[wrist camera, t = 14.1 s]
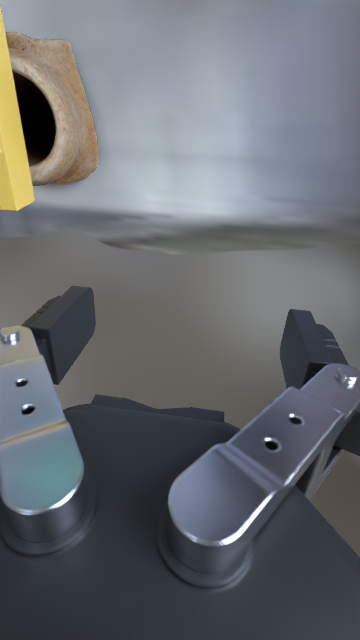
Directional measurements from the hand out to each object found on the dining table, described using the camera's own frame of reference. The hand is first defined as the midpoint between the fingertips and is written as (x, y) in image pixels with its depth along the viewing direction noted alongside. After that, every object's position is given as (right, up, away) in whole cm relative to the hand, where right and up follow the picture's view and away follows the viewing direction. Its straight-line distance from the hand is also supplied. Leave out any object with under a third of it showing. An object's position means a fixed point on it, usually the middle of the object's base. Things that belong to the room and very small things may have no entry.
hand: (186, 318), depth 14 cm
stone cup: (-14, +24, +26) cm, 38 cm away
